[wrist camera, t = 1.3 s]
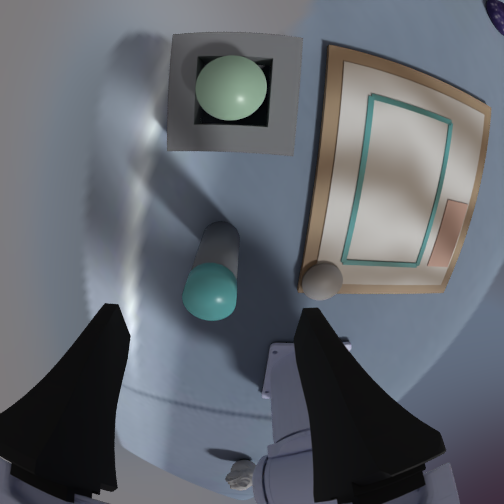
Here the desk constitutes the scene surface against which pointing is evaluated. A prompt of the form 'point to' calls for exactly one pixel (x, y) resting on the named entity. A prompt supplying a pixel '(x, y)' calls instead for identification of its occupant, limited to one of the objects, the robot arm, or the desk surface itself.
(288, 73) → the button housing
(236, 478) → the grey lumpy rounded piece
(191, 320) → the desk surface
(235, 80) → the button
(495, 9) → the toy lamp
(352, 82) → the framed board
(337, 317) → the desk surface
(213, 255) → the marker
